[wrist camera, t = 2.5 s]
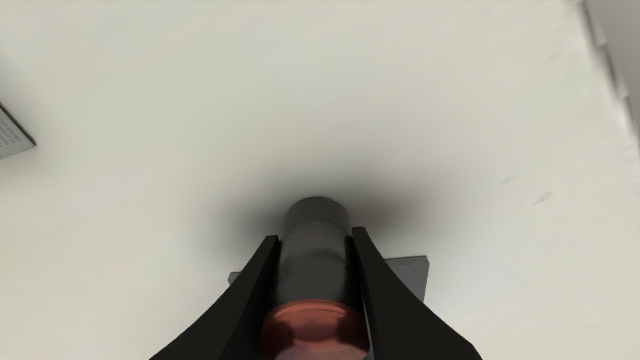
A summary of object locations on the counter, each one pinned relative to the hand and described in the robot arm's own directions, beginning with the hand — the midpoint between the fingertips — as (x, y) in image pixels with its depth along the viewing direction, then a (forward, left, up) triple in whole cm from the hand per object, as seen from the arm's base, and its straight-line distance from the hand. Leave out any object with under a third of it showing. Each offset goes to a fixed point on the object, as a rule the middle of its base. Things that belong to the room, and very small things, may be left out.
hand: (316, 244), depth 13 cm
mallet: (-5, 0, -2) cm, 5 cm away
